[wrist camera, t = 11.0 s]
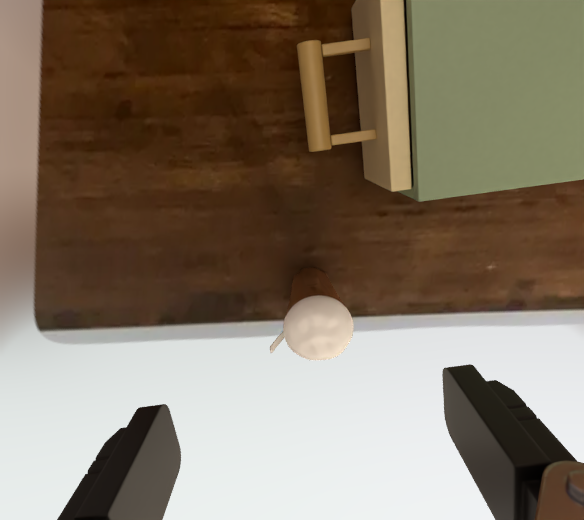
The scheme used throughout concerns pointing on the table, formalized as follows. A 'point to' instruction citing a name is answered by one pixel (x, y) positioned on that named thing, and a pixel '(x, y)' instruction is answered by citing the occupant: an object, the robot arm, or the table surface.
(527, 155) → the cabinet
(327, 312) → the milkshake
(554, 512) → the robot arm
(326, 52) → the drawer
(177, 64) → the table surface
